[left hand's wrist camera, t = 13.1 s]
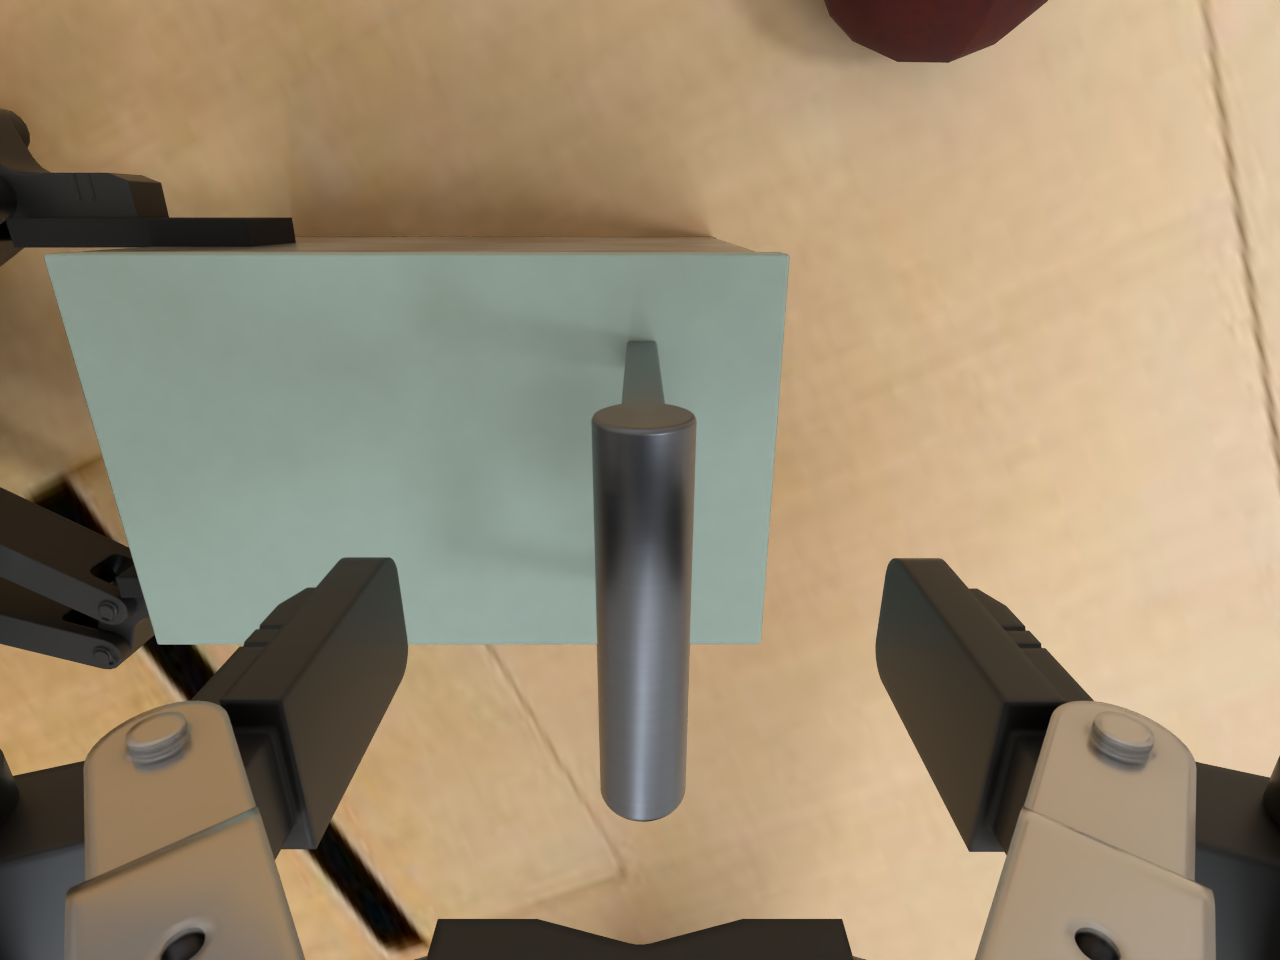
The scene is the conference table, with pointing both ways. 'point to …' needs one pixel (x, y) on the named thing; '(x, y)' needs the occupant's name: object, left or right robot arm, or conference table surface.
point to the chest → (473, 245)
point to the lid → (451, 450)
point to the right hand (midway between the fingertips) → (305, 415)
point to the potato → (929, 25)
